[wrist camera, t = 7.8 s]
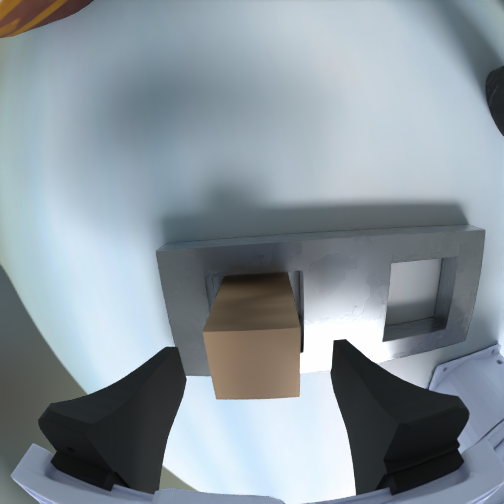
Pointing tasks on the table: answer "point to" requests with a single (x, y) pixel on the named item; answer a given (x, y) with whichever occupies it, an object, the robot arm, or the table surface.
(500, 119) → the travel mug
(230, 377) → the walnut peg
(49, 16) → the jug
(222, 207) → the table surface
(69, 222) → the table surface
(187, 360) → the grey slotted board
